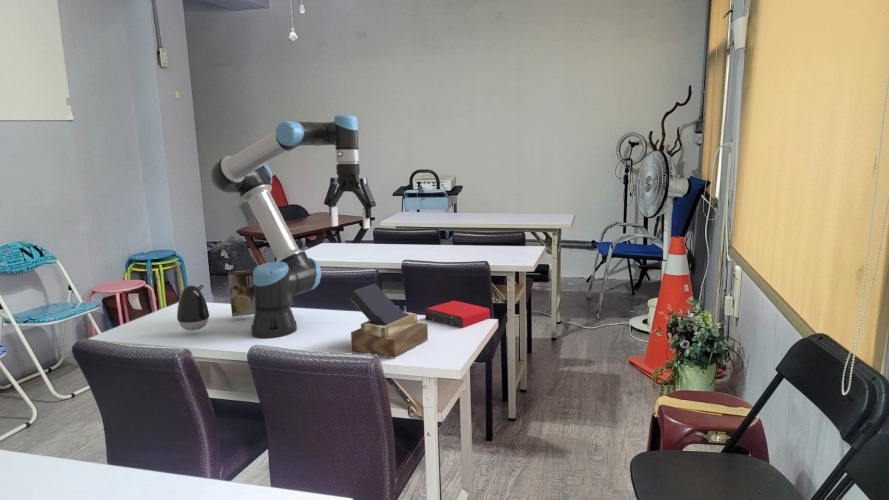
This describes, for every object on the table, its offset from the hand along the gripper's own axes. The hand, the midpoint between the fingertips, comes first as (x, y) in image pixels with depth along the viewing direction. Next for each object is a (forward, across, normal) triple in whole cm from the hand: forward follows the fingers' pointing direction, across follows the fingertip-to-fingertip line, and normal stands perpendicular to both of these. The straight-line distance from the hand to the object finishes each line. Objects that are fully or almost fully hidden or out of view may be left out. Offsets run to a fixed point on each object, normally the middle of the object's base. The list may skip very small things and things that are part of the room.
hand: (350, 227), depth 199 cm
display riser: (+35, +23, -11) cm, 43 cm away
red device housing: (+35, +28, +23) cm, 50 cm away
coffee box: (+35, -48, -6) cm, 60 cm away
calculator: (+17, +13, -12) cm, 25 cm away
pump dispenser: (+35, -49, -27) cm, 66 cm away
